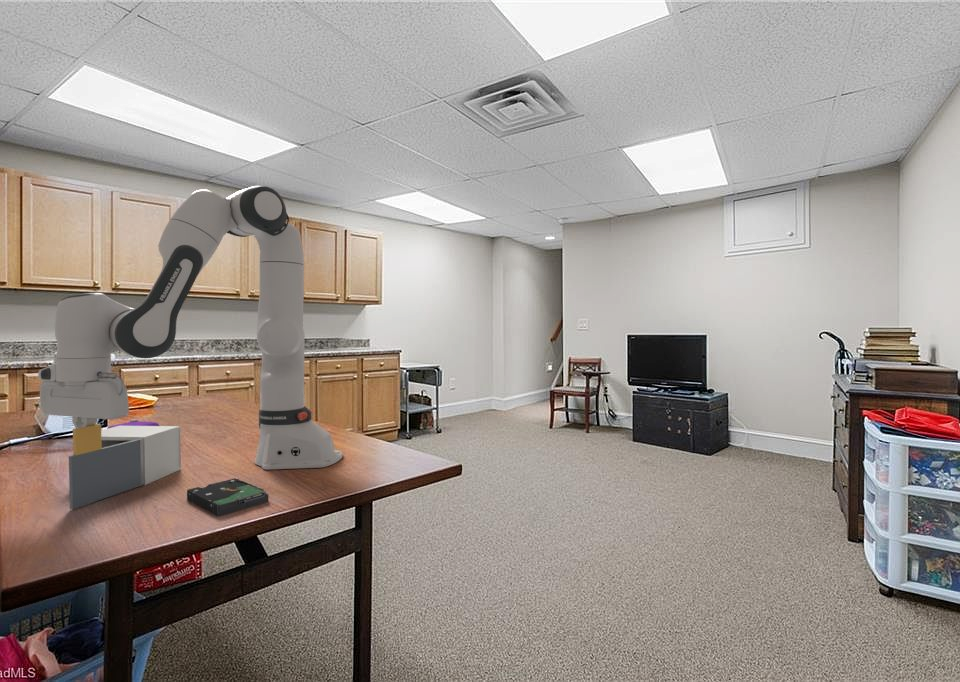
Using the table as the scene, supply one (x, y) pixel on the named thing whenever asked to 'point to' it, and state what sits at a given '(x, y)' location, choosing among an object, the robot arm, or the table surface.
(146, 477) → the box
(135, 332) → the robot arm
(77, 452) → the side door
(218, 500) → the disk drive
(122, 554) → the table surface
